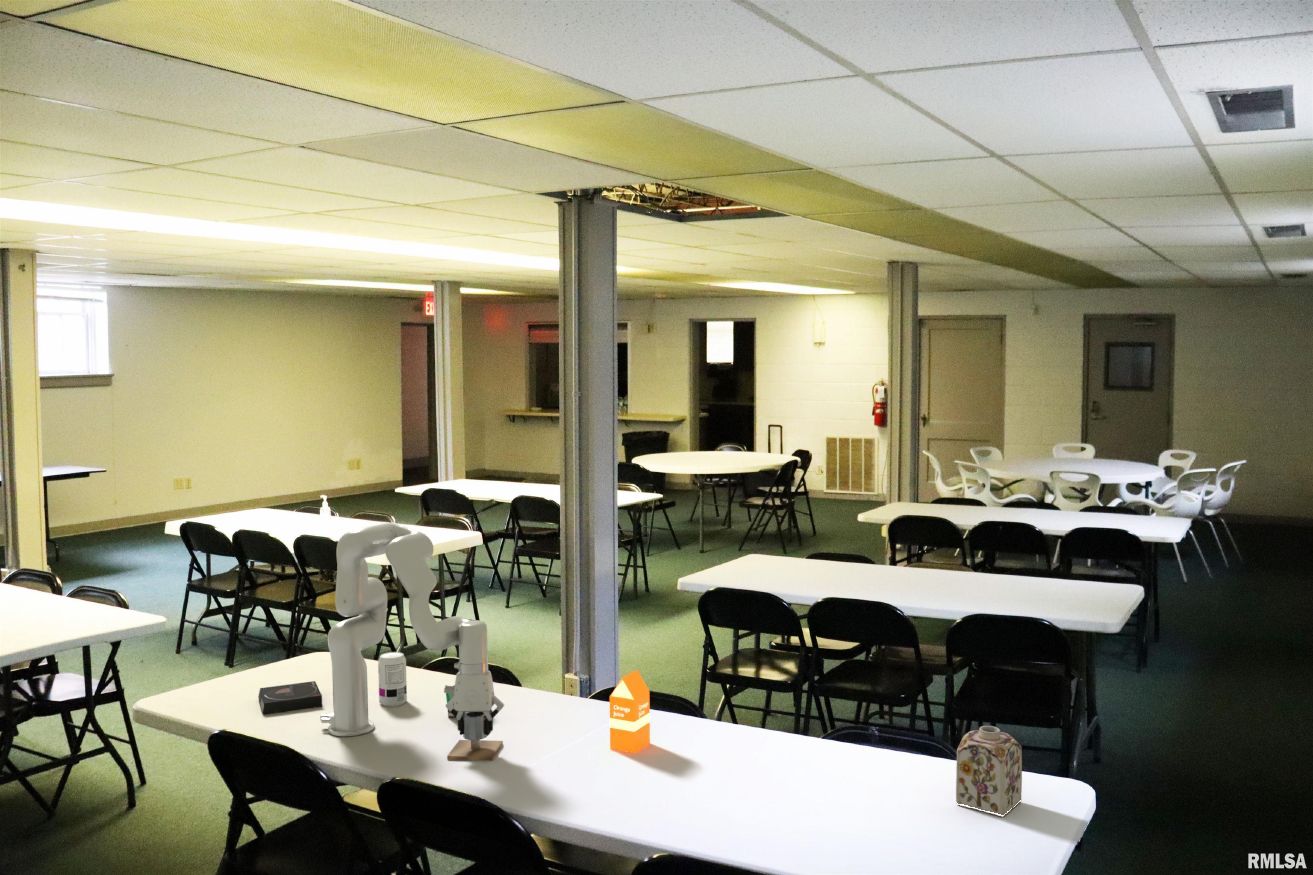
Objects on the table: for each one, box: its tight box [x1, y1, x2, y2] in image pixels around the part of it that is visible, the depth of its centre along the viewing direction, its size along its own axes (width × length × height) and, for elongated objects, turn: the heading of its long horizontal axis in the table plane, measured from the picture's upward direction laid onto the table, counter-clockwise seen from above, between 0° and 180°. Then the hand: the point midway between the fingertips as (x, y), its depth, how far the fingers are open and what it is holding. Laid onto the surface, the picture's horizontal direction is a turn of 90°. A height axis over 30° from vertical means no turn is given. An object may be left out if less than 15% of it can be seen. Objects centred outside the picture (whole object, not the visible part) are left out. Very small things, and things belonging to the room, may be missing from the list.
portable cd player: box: [258, 680, 323, 716], centre depth 327 cm, size 16×17×4 cm
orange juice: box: [609, 669, 651, 754], centre depth 287 cm, size 8×9×20 cm
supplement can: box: [377, 651, 408, 708], centre depth 326 cm, size 8×8×15 cm
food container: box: [443, 684, 465, 720], centre depth 314 cm, size 12×6×10 cm, turn 143°
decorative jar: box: [955, 725, 1023, 815], centre depth 248 cm, size 12×12×18 cm
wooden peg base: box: [446, 739, 504, 762], centre depth 284 cm, size 12×12×6 cm
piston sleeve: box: [462, 712, 489, 740], centre depth 284 cm, size 6×6×6 cm
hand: (475, 732), depth 284 cm, fingers closed on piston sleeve, 6 cm apart
